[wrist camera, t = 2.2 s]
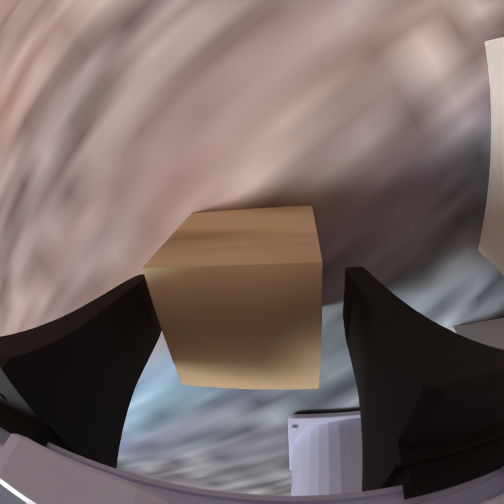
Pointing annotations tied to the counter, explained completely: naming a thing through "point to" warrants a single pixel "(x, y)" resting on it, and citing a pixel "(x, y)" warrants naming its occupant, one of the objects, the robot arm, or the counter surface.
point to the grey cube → (484, 332)
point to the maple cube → (242, 298)
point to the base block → (495, 160)
